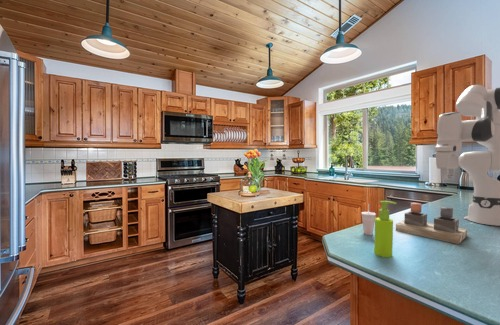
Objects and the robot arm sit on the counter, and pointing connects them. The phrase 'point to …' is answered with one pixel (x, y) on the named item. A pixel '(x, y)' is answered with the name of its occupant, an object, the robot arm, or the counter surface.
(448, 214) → the grey cube
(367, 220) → the smoothie
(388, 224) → the soap dispenser
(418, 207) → the terracotta button
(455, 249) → the counter surface
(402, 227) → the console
